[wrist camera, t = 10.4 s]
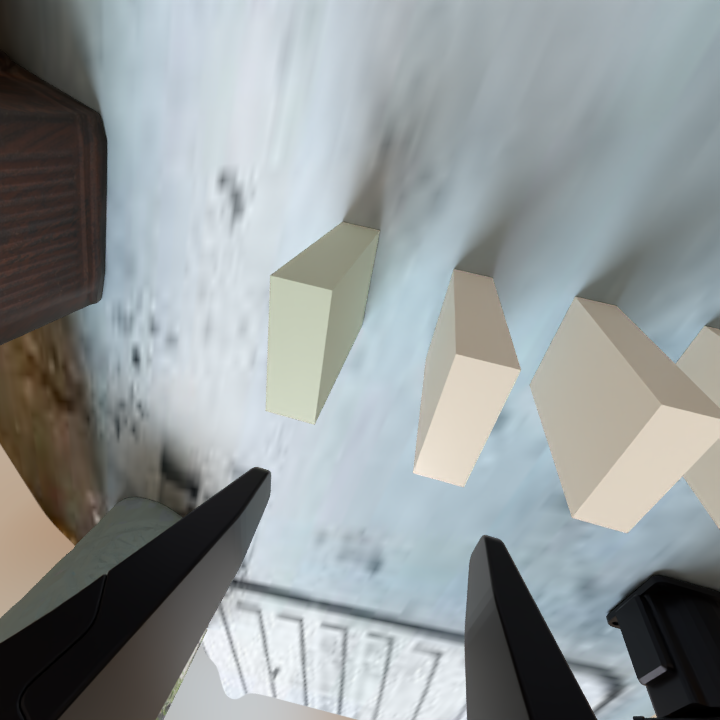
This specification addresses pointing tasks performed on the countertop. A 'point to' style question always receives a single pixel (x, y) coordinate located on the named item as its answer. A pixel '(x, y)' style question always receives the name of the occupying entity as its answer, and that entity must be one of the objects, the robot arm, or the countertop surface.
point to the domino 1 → (316, 319)
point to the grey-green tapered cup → (91, 559)
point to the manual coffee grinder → (48, 203)
